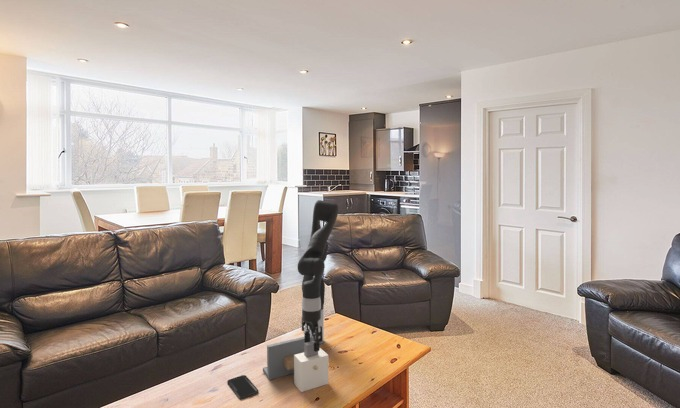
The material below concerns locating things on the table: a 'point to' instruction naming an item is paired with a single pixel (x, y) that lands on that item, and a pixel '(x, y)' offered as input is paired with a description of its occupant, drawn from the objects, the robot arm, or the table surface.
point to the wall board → (283, 357)
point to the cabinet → (310, 368)
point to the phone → (242, 387)
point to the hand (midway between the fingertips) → (311, 346)
